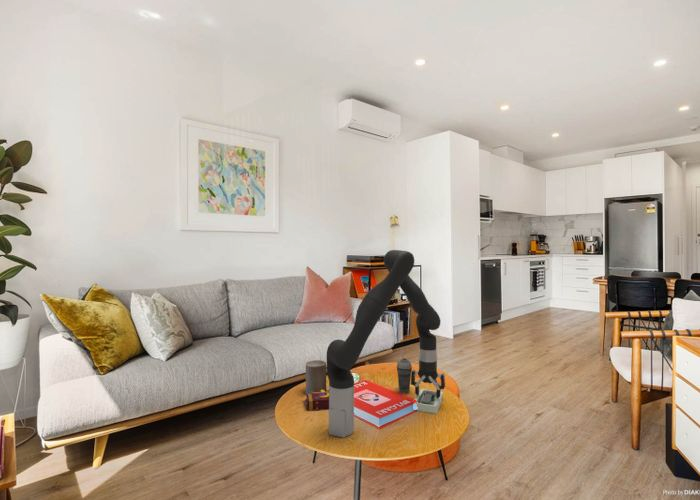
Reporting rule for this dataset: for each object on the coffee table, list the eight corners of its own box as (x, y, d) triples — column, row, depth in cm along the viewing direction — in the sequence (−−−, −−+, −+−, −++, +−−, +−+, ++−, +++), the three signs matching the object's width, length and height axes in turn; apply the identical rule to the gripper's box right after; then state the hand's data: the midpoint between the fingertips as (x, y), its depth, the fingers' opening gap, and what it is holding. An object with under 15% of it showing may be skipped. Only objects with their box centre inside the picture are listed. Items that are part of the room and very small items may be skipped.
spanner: (430, 409, 161) (430, 402, 161) (419, 407, 163) (419, 400, 163) (435, 398, 173) (435, 391, 173) (425, 396, 175) (425, 390, 175)
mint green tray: (436, 414, 159) (436, 406, 159) (412, 410, 162) (412, 402, 162) (442, 398, 174) (443, 392, 174) (420, 395, 178) (420, 388, 178)
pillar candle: (330, 391, 183) (330, 359, 183) (318, 397, 175) (318, 364, 175) (313, 387, 188) (313, 356, 188) (301, 393, 180) (301, 361, 180)
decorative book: (342, 409, 164) (342, 397, 164) (304, 412, 161) (304, 400, 161) (339, 398, 175) (339, 387, 175) (302, 401, 172) (302, 390, 172)
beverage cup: (407, 396, 177) (407, 352, 177) (393, 392, 181) (393, 349, 181) (414, 391, 183) (415, 349, 182) (401, 388, 187) (401, 346, 187)
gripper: (409, 359, 166) (409, 397, 167) (443, 363, 161) (443, 402, 161) (413, 354, 173) (413, 391, 174) (446, 358, 168) (445, 395, 168)
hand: (427, 396), depth 167 cm, fingers open, 8 cm apart
